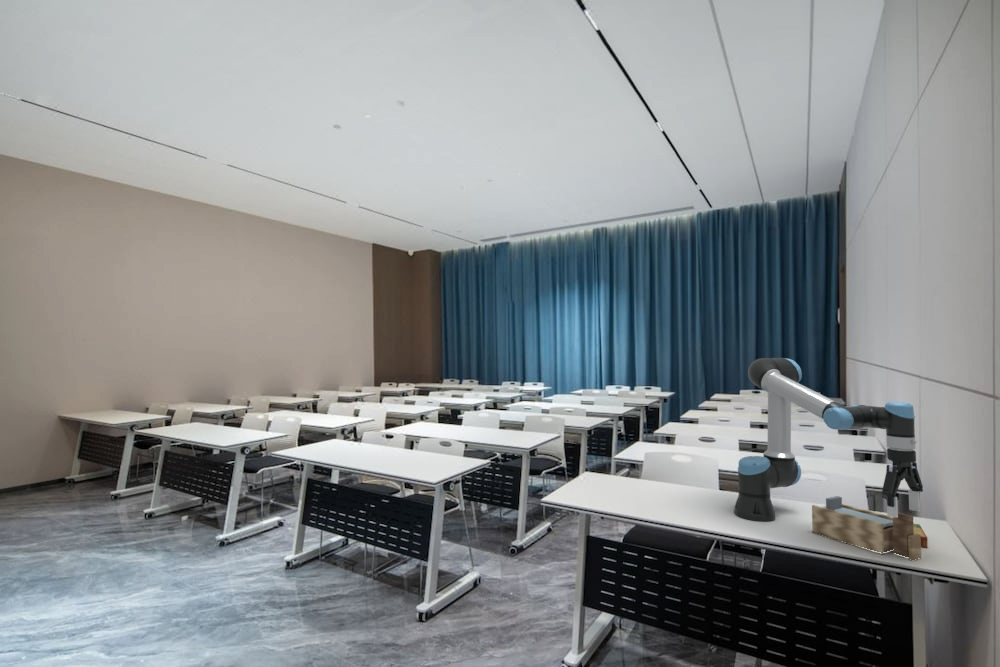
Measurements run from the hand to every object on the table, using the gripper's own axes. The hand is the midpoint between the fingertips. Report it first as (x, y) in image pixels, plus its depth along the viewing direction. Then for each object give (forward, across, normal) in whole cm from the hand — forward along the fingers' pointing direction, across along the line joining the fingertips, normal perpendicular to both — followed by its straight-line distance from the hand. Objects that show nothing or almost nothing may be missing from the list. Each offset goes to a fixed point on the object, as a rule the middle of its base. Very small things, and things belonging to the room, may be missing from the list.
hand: (903, 513), depth 167 cm
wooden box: (+14, 0, +12) cm, 18 cm away
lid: (+5, 0, +15) cm, 16 cm away
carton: (+14, +19, +8) cm, 25 cm away
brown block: (+14, 0, 0) cm, 14 cm away
